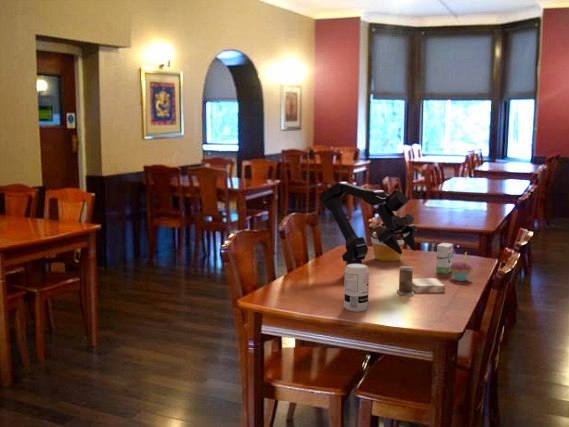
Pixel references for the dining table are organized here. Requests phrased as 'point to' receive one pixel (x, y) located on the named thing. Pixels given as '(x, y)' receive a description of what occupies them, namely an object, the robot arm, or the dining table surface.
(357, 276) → the supplement can
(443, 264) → the ink box
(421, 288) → the birch block
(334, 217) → the robot arm
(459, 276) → the cupcake
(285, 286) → the dining table surface
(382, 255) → the bucket of meat
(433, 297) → the dining table surface
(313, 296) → the dining table surface
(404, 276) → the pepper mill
